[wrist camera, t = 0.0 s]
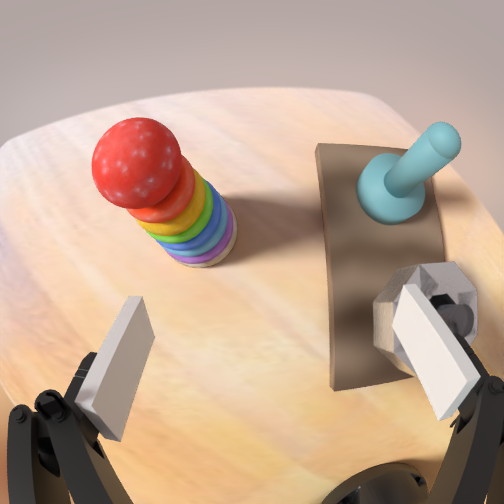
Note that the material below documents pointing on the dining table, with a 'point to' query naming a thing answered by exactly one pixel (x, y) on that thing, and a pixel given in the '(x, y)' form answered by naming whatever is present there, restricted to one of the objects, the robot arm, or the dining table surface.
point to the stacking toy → (163, 192)
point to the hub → (405, 175)
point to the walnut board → (365, 262)
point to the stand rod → (457, 317)
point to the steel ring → (436, 291)
